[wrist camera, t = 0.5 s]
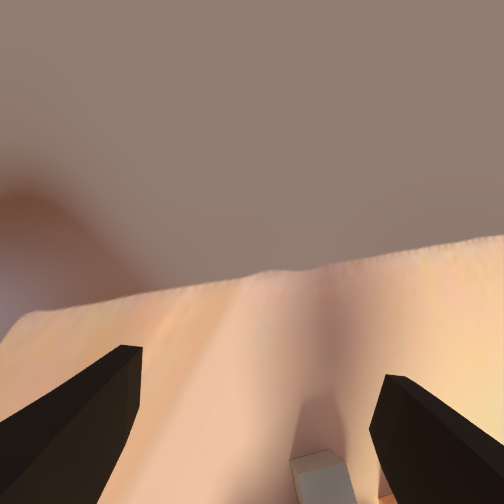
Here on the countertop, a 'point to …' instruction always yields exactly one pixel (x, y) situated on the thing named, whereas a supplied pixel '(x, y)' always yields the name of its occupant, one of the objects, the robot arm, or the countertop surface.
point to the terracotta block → (387, 499)
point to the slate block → (322, 479)
